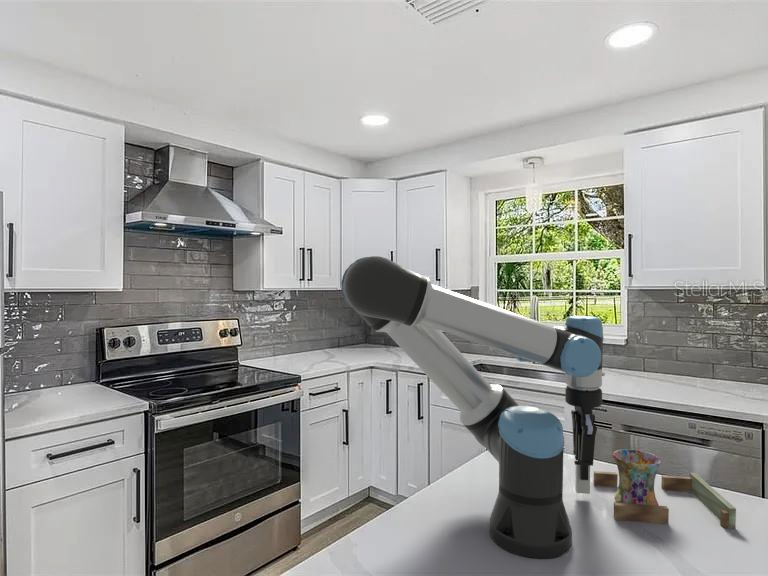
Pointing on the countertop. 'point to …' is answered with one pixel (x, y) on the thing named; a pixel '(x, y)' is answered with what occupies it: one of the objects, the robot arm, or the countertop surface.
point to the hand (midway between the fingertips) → (582, 491)
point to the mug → (636, 476)
